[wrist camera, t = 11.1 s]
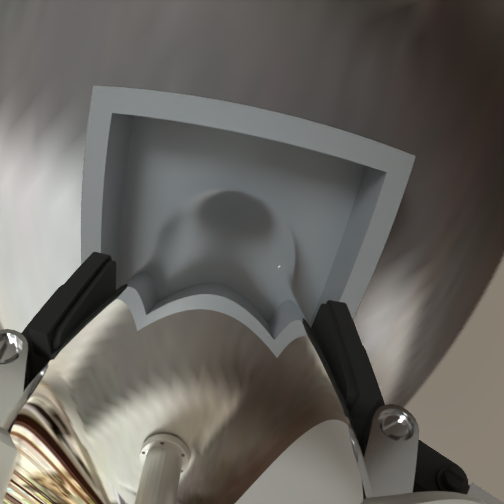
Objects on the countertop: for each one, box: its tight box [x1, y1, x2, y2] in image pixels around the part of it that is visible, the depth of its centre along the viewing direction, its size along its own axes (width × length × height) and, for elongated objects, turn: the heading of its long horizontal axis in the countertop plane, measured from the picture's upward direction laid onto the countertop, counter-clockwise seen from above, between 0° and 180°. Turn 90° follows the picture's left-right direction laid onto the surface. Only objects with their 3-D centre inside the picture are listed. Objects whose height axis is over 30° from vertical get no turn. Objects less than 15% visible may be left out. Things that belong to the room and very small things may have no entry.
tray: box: [81, 86, 416, 327], centre depth 15 cm, size 13×12×3 cm
